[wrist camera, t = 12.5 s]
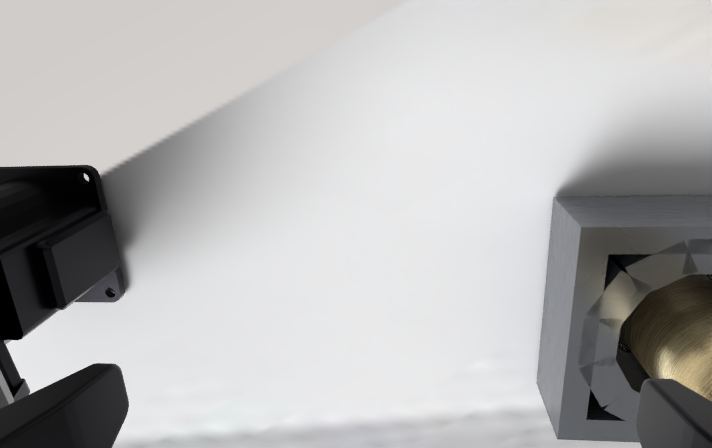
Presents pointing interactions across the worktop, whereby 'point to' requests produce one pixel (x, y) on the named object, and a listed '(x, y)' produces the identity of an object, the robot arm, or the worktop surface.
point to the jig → (609, 301)
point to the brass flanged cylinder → (675, 333)
